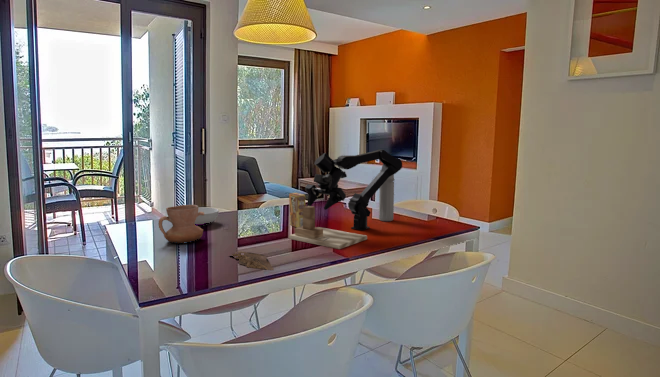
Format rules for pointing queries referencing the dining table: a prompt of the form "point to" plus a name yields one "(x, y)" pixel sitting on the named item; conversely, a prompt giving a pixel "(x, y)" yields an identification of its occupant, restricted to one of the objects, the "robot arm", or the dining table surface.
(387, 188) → the water bottle
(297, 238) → the birch board
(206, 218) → the serving bowl
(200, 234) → the ceramic jug
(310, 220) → the block
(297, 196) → the candy box
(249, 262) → the wooden fragment
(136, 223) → the dining table surface
